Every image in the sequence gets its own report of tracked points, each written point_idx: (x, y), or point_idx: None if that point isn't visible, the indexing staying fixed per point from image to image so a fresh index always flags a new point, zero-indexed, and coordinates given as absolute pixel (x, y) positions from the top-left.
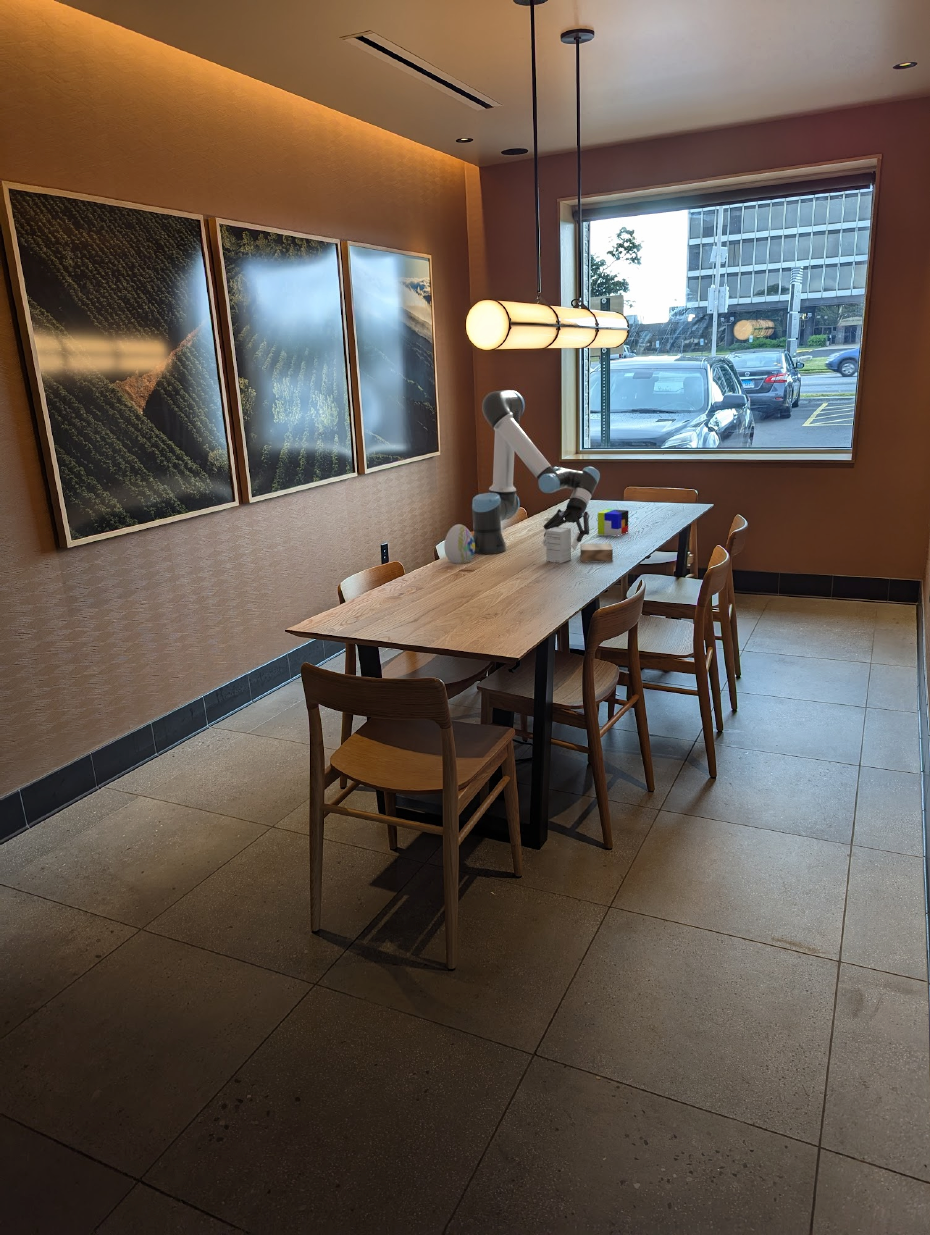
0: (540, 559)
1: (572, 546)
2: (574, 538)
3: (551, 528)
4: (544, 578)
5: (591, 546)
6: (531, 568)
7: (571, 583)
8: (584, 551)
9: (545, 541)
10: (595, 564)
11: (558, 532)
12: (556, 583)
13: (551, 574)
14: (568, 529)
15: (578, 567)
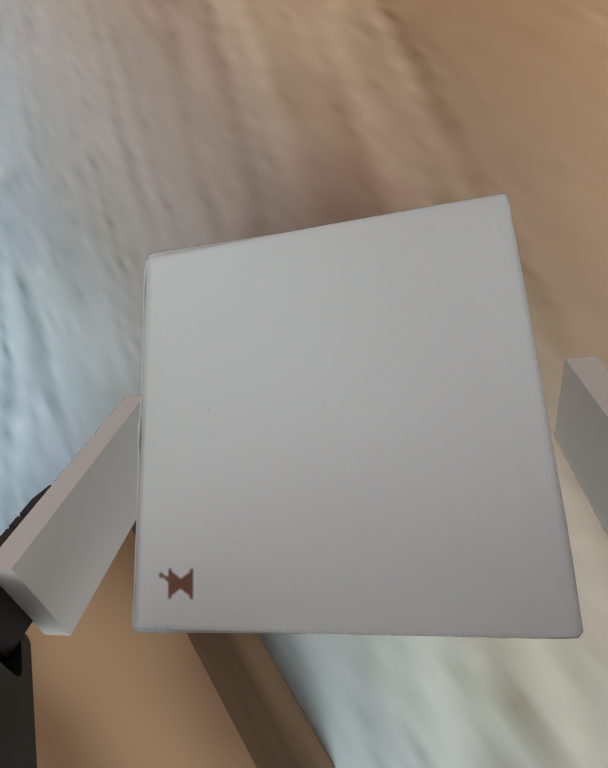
0: (549, 397)
1: (134, 403)
2: (87, 469)
3: (526, 408)
4: (167, 40)
5: (118, 752)
6: (389, 136)
7: (8, 72)
8: None
9: (578, 412)
10: None
11: (195, 248)
12: (67, 24)
13: (181, 119)
14: (137, 534)
15: (125, 352)
